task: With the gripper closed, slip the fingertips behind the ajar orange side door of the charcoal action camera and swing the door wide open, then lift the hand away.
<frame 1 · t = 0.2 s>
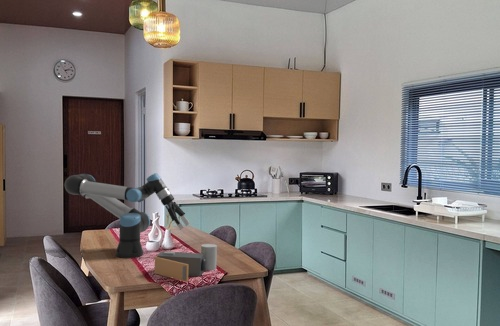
hand: (185, 226, 279), 16 cm above the table, tool tilted 35°, fingers open, 13 cm apart
cup: (208, 268, 245), on the table
camera body: (180, 272, 236), on the table
side door: (170, 269, 224), point 5 cm above the table, hinge at 30.0°
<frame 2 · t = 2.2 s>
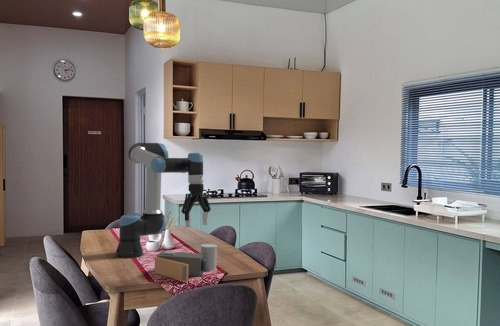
hand: (196, 226, 235), 24 cm above the table, tool pointing down, fingers open, 13 cm apart
nothing on the table moved.
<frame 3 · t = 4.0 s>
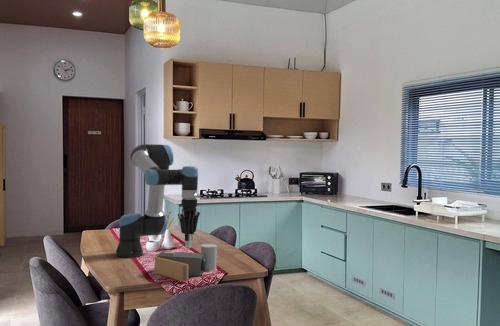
hand: (188, 247, 226), 15 cm above the table, tool pointing down, fingers closed
nothing on the table moved.
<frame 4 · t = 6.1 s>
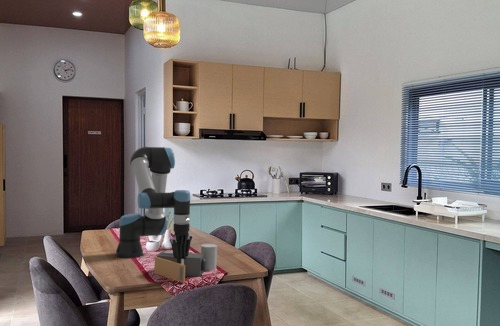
hand: (180, 272, 223), 4 cm above the table, tool pointing down, fingers closed
side door: (168, 269, 224), point 5 cm above the table, hinge at 35.4°, touching gripper
everything else where it was.
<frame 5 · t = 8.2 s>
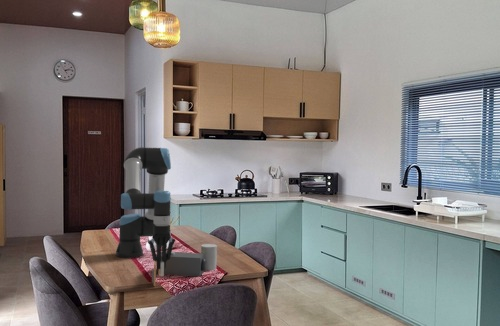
hand: (161, 275, 216), 4 cm above the table, tool pointing down, fingers closed
side door: (154, 270, 221), point 5 cm above the table, hinge at 72.4°, touching gripper
everything else where it was.
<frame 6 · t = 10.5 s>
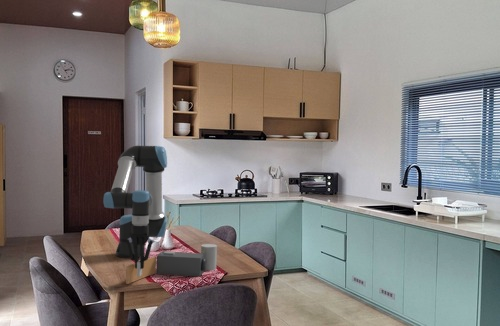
hand: (139, 275, 216), 3 cm above the table, tool pointing down, fingers closed
side door: (141, 269, 222), point 5 cm above the table, hinge at 106.9°, touching gripper
everything else where it was.
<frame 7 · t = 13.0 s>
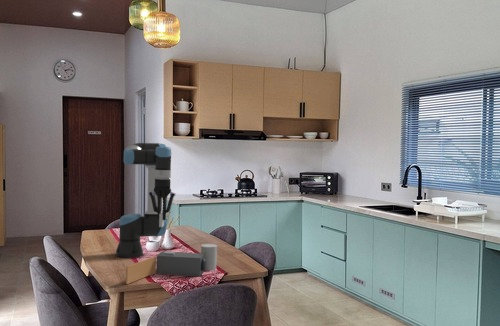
hand: (161, 226, 230), 24 cm above the table, tool pointing down, fingers closed
side door: (141, 269, 222), point 5 cm above the table, hinge at 107.0°
everything else where it was.
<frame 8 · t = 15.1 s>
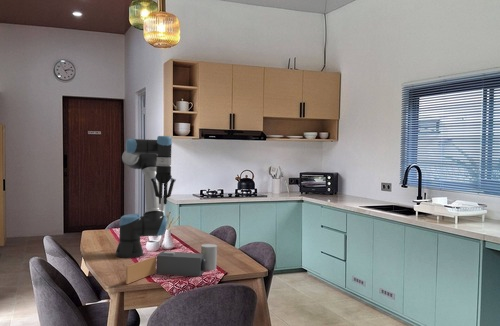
hand: (162, 210, 246), 29 cm above the table, tool pointing down, fingers closed
nothing on the table moved.
at the end: side door at +107° (first picture: +30°); cup moved 0.2 cm from its start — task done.
